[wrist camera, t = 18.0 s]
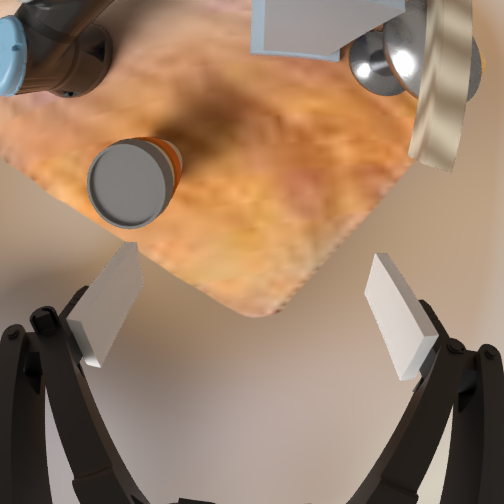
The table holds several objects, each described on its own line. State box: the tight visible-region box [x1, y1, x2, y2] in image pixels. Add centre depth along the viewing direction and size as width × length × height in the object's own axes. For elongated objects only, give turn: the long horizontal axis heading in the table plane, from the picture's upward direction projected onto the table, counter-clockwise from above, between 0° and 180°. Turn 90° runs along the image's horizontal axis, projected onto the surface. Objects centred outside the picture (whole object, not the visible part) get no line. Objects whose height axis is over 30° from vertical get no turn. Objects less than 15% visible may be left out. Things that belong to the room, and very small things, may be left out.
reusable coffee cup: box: [87, 137, 183, 229], centre depth 43 cm, size 13×13×15 cm
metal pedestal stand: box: [349, 0, 481, 102], centre depth 31 cm, size 14×14×19 cm
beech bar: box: [408, 0, 472, 173], centre depth 21 cm, size 28×4×4 cm, turn 173°
